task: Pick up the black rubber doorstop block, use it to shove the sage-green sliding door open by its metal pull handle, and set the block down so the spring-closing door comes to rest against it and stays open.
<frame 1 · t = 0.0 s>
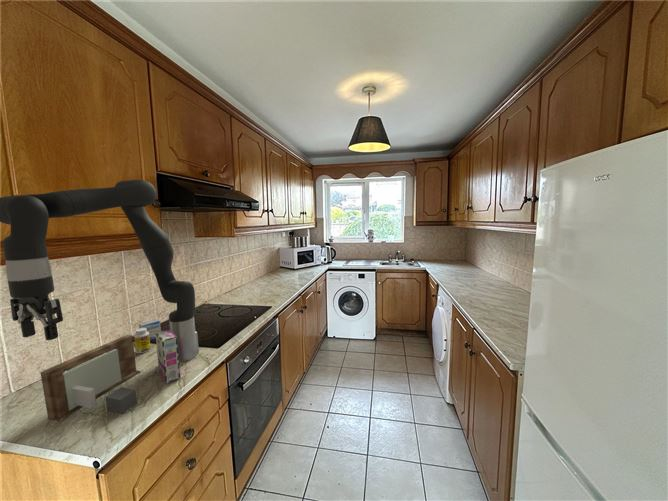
hand: (40, 337, 70), 29 cm above the table, tool pointing down, fingers open, 8 cm apart
doorstop block: (122, 407, 86), on the table
door panel: (101, 378, 89), point 7 cm above the table, slide at 0.0 cm
supplement bottle: (143, 351, 123), on the table
door wall: (96, 396, 91), on the table
candy bar box: (169, 375, 103), on the table
medicine box: (151, 339, 135), on the table
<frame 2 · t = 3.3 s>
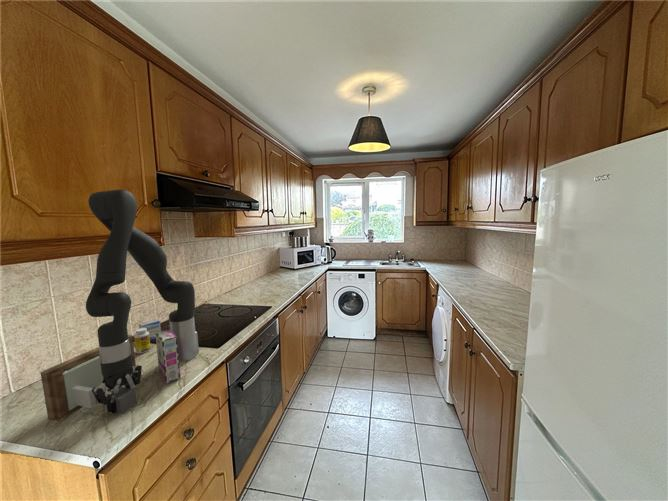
hand: (122, 405, 86), 1 cm above the table, tool pointing down, fingers closed on doorstop block, 5 cm apart
doorstop block: (122, 407, 86), on the table, touching gripper
everything else where it was.
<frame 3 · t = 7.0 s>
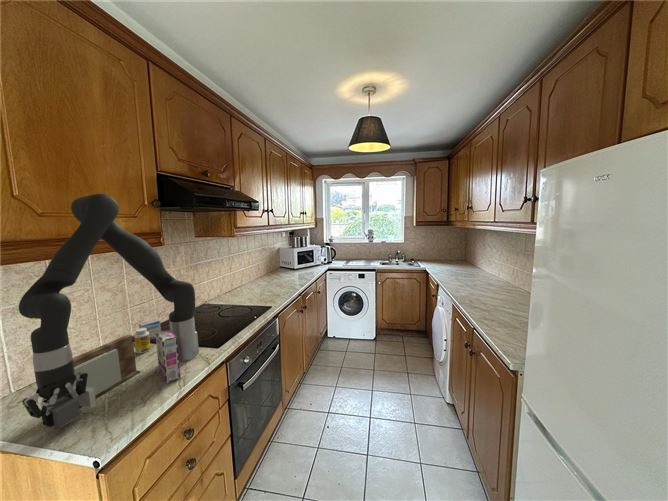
hand: (62, 418, 77), 3 cm above the table, tool pointing down, fingers closed on doorstop block, 5 cm apart
doorstop block: (62, 419, 77), point 3 cm above the table, touching gripper
everything else where it was.
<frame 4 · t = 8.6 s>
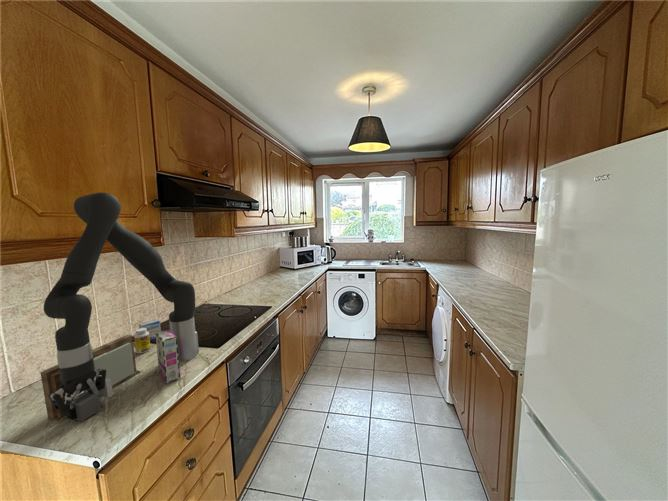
hand: (83, 411, 82), 1 cm above the table, tool pointing down, fingers closed on doorstop block, 5 cm apart
doorstop block: (84, 413, 82), point 1 cm above the table, touching gripper
door panel: (117, 370, 94), point 7 cm above the table, slide at 5.0 cm, touching hand
everything else where it was.
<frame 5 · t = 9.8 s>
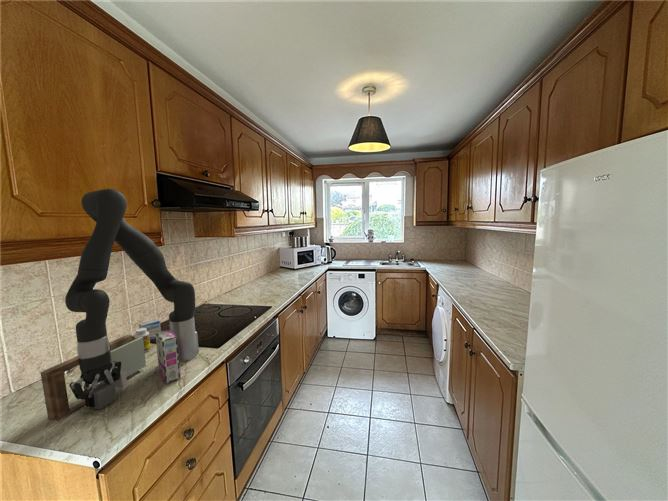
hand: (100, 401, 87), 1 cm above the table, tool pointing down, fingers closed on doorstop block, 5 cm apart
doorstop block: (101, 402, 87), point 1 cm above the table, touching gripper
door panel: (130, 363, 99), point 7 cm above the table, slide at 9.8 cm, touching hand
everything else where it was.
when the fingers open (1 cm above the table, at t = 10.9 s): doorstop block stays where it is, on the table.
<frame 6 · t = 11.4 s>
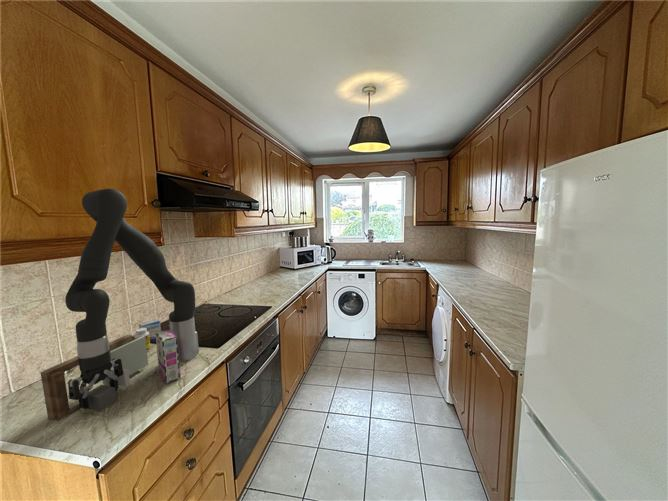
hand: (100, 399, 87), 2 cm above the table, tool pointing down, fingers open, 8 cm apart
doorstop block: (101, 405, 87), on the table
door panel: (133, 361, 100), point 7 cm above the table, slide at 10.8 cm, touching gripper, hand
everything else where it was.
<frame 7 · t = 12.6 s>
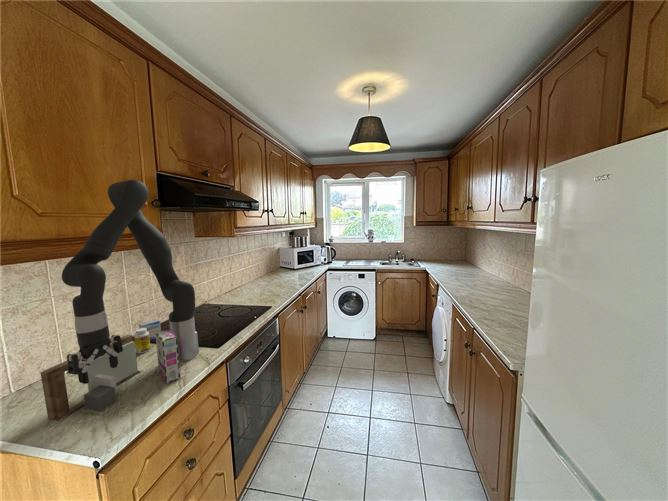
hand: (100, 374, 86), 10 cm above the table, tool pointing down, fingers open, 8 cm apart
doorstop block: (101, 405, 87), on the table, touching door panel
door panel: (121, 368, 96), point 7 cm above the table, slide at 6.3 cm, touching doorstop block
everything else where it was.
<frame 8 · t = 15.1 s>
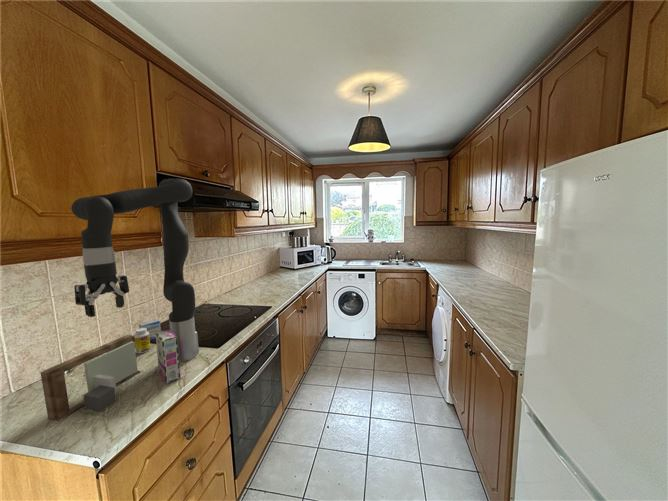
hand: (106, 311, 86), 30 cm above the table, tool pointing down, fingers open, 8 cm apart
doorstop block: (101, 405, 87), on the table
door panel: (120, 368, 95), point 7 cm above the table, slide at 6.2 cm
everything else where it was.
at the end: door panel slide at 6.2 cm; doorstop block inside the target area (0.2 cm from its centre), on the table; the gripper is holding nothing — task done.
